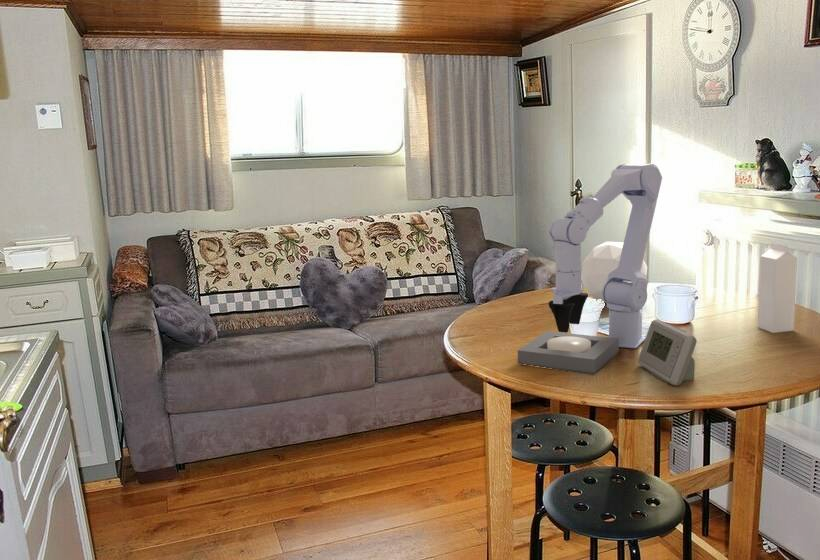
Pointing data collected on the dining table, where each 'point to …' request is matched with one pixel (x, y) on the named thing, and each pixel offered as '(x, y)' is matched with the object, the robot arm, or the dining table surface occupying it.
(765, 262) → the milk
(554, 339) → the button cap
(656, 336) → the digital clock
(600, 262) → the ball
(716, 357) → the dining table surface
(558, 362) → the button housing
